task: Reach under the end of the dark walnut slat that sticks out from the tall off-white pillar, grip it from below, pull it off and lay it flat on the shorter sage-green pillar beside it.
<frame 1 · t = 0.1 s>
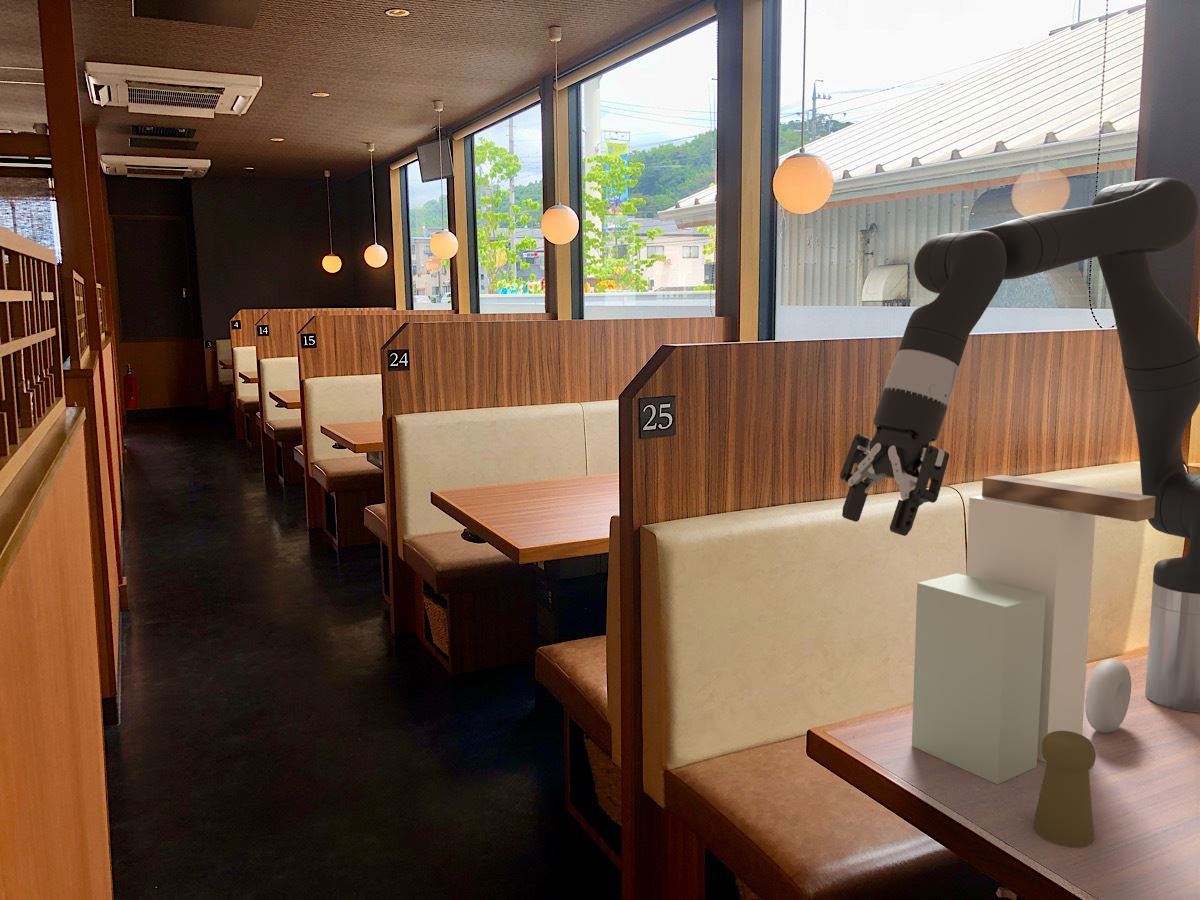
hand: (872, 526, 109), 31 cm above the table, tool tilted 20°, fingers open, 8 cm apart
slat: (1062, 506, 116), point 32 cm above the table, touching stand
stand: (1064, 754, 119), on the table
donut: (1106, 732, 125), on the table
cork: (1063, 833, 101), on the table
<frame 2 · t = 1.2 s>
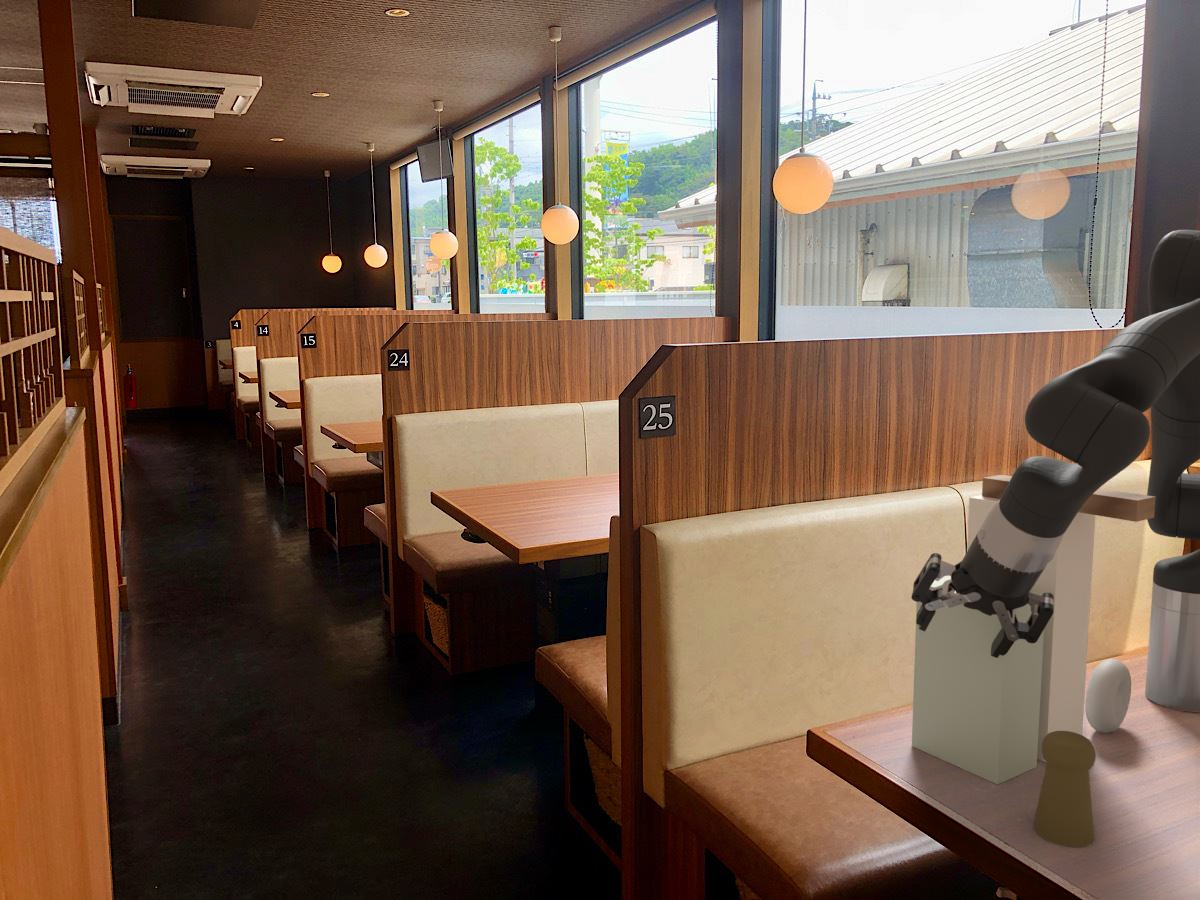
hand: (957, 638, 110), 18 cm above the table, tool tilted 35°, fingers open, 8 cm apart
nothing on the table moved.
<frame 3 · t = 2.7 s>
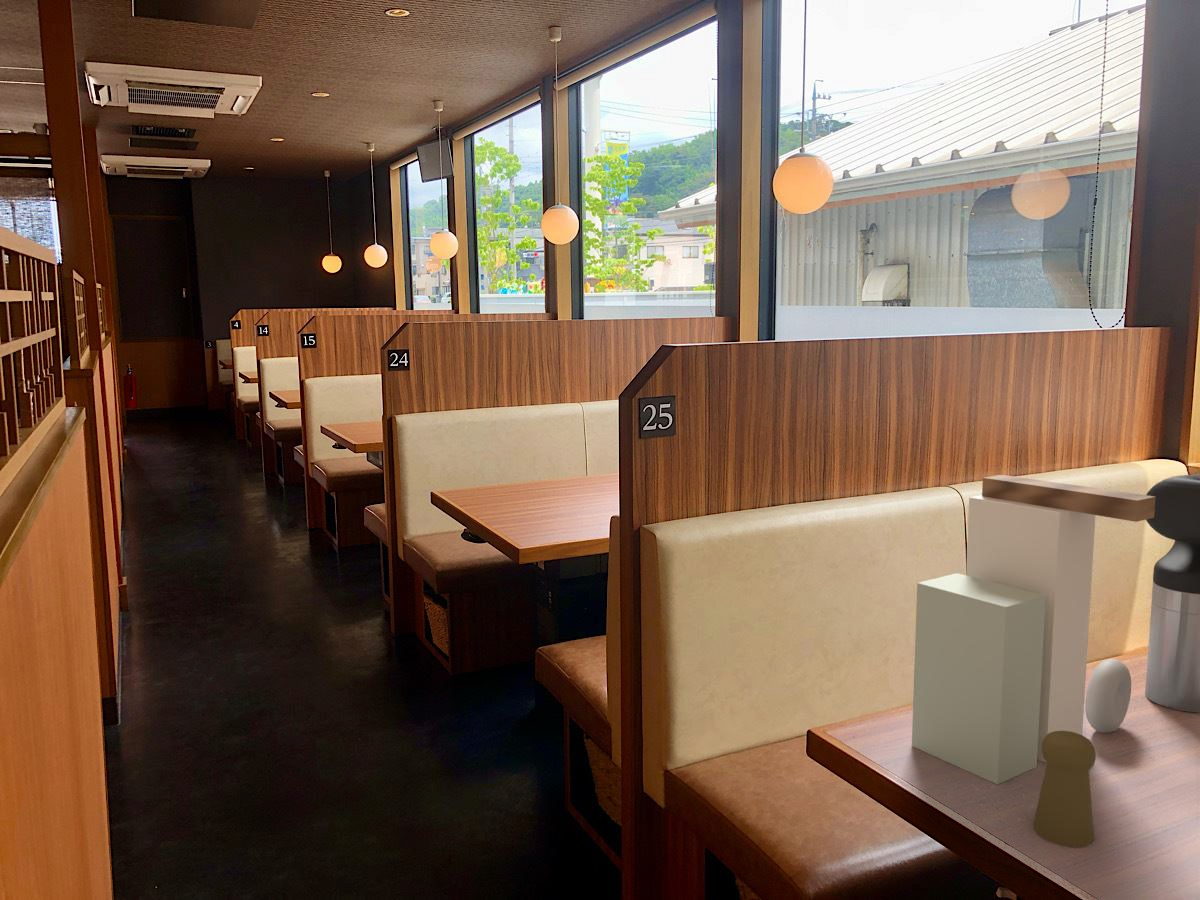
nothing on the table moved.
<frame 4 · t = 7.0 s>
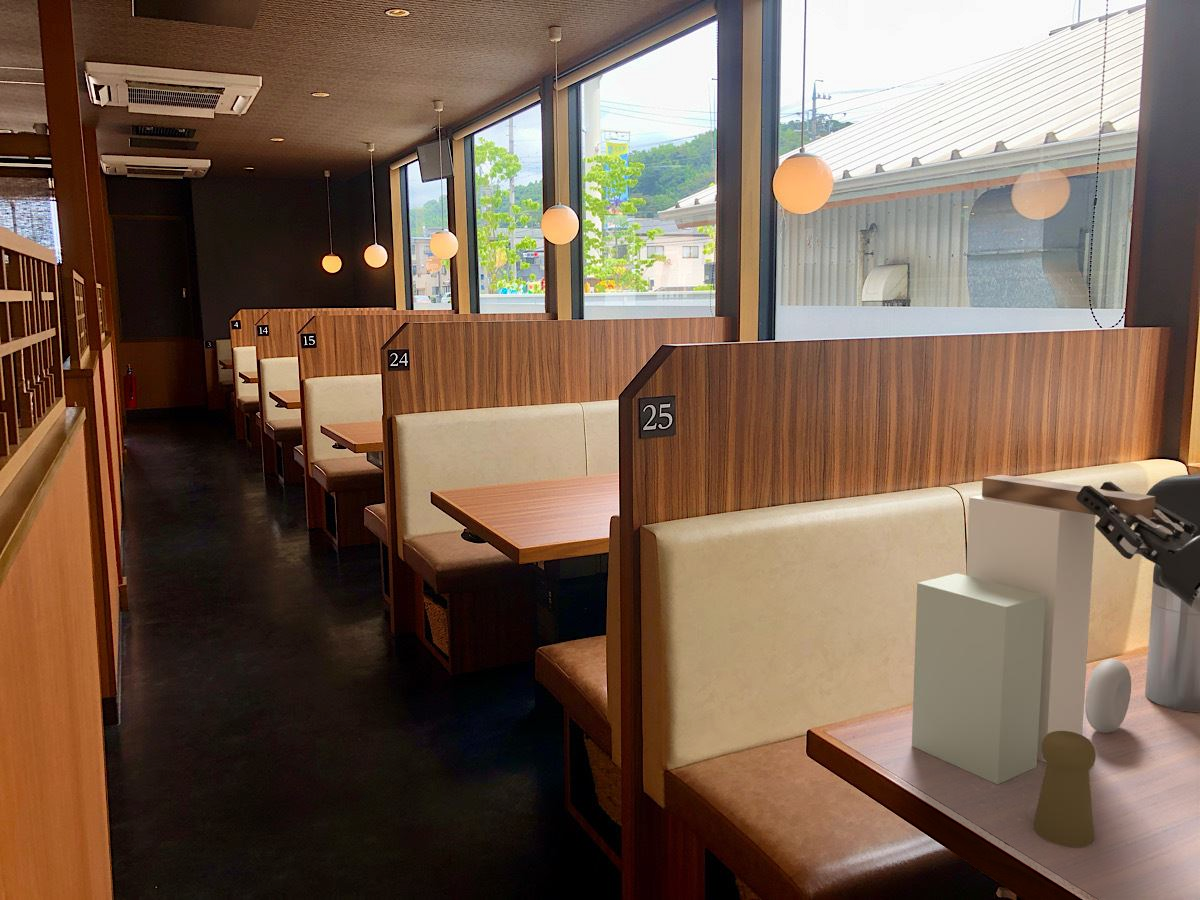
hand: (1092, 489, 113), 35 cm above the table, tool pointing upward, fingers closed on slat, 4 cm apart
slat: (1062, 506, 116), point 32 cm above the table, touching gripper, stand
everything else where it was.
when the fingers open (26 cm above the table, at t = 15.2 s): slat stays where it is, resting on stand.
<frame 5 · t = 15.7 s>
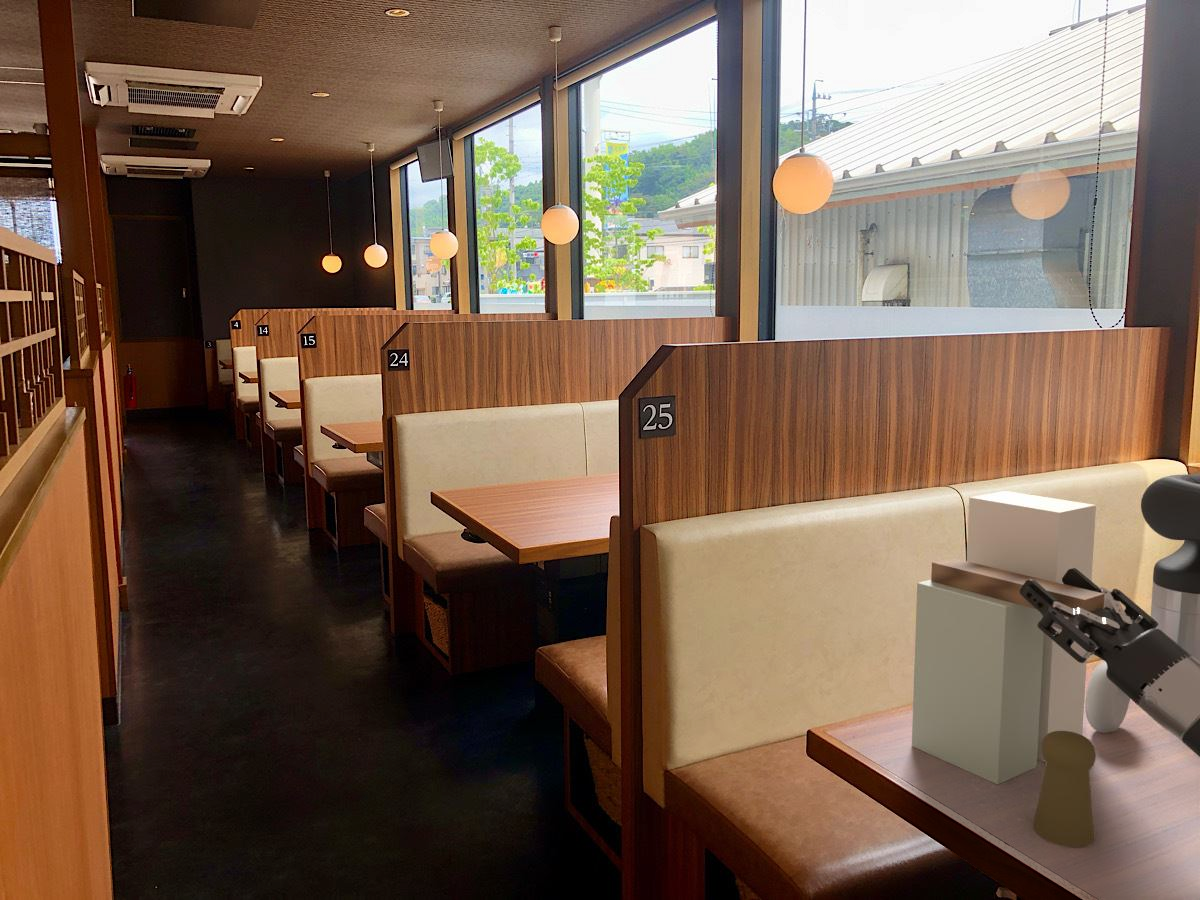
hand: (1046, 579, 108), 25 cm above the table, tool pointing upward, fingers open, 8 cm apart
slat: (1011, 597, 112), point 22 cm above the table, touching stand
everything else where it was.
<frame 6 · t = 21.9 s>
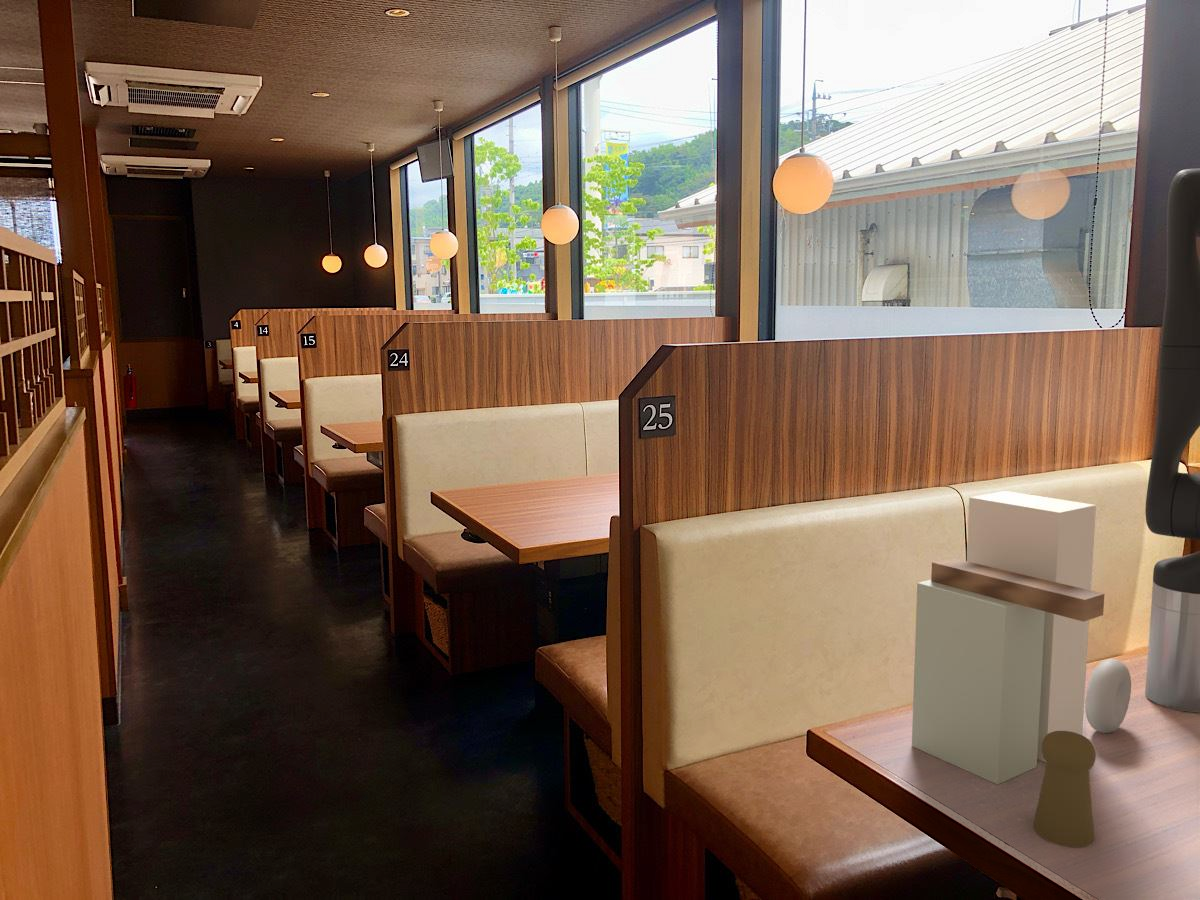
nothing on the table moved.
at the end: slat 0.2 cm from the target spot, point 22.0 cm above the table; the gripper is holding nothing; slat tilted 0° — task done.
